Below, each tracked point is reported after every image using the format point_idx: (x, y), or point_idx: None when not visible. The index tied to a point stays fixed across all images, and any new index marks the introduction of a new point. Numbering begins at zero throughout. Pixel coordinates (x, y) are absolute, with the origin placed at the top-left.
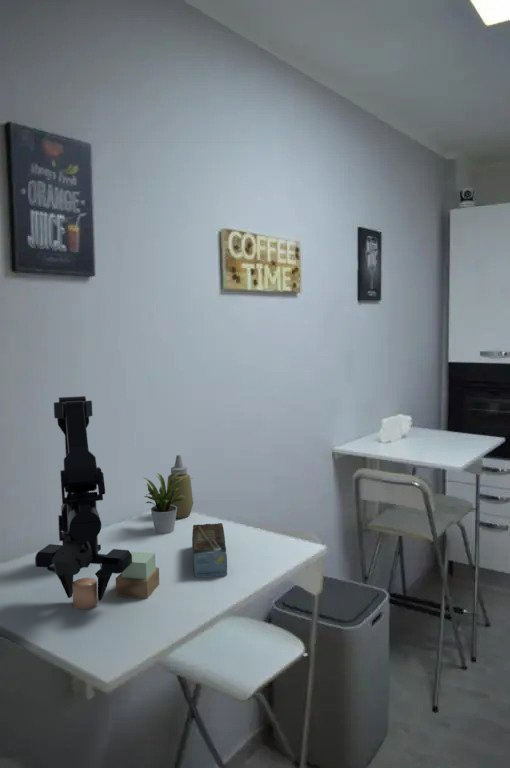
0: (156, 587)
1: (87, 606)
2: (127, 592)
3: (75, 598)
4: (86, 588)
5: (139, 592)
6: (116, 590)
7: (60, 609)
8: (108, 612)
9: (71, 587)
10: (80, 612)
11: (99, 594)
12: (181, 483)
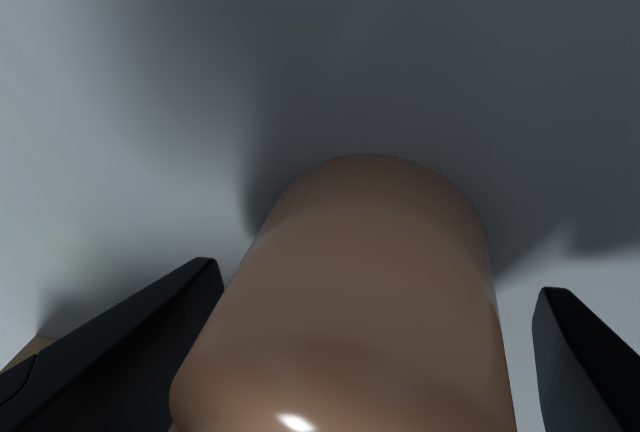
0: None
1: (293, 185)
2: None
3: (418, 229)
4: (216, 333)
5: None
6: None
7: (603, 110)
8: (87, 139)
9: (557, 412)
10: (324, 89)
11: (152, 294)
12: None
